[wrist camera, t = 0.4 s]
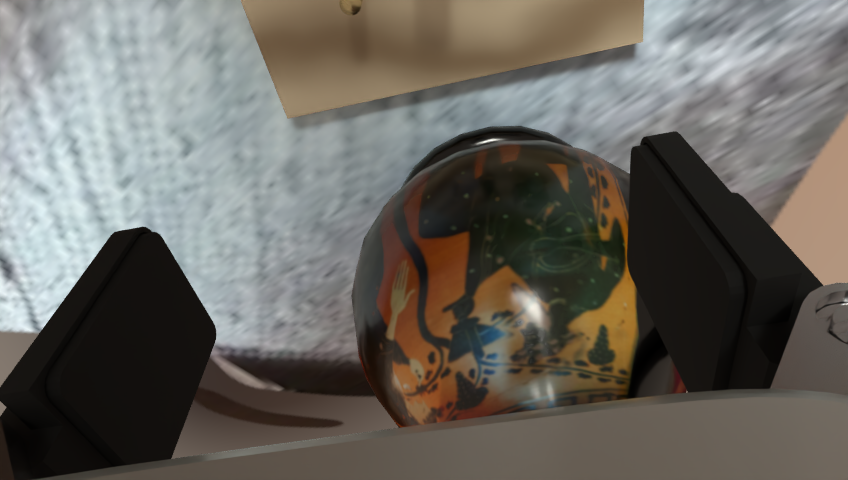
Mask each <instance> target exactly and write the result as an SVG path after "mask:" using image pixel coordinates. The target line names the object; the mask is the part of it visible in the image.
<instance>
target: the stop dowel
mask: <svg viewBox="0 0 848 480" xmlns="http://www.w3.org/2000/svg"><path fill="white" fill-rule="evenodd" d="M362 1H363V0H340V1H339V5H340V8H341V10H342V11H343V12H344V13H345V14H347V15H355V14H357V13H358V12H359V11H360V9H361V6H362Z"/></svg>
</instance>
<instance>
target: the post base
mask: <svg viewBox="0 0 848 480" xmlns="http://www.w3.org/2000/svg"><path fill="white" fill-rule="evenodd" d="M339 1H340V0H241V2H242V5H243V7H244V10H245V12H246V15H247V18H248V20H249V23H250V25H251V28H252V30H253V33H254V35H255V38H256V40H257V43H258V45H259V48H260V50H261V53H262V55H263V58H264V60H265V63H266V65H267V68H268V70H269V73H270V75H271V78H272V80H273V83H274V85H275V88H276V91H277V93H278V96H279V98H280V101H281V103H282V106H283V108H284V111H285V113H286V116H287V118H288V119H289V118H293V117H298V116H303V115H307V114H312V113H316V112H321V111H326V110H330V109H335V108H339V107H344V106H349V105H353V104H358V103H363V102H367V101H372V100H376V99H381V98H386V97H390V96H395V95H399V94H404V93H409V92H413V91H418V90H423V89H427V88H432V87H436V86H441V85H446V84H450V83H455V82H460V81H464V80H469V79H473V78H478V77H483V76H487V75H492V74H496V73H501V72H506V71H510V70H515V69H520V68H524V67H529V66H533V65H538V64H543V63H547V62H552V61H557V60H561V59H566V58H570V57H575V56H580V55H584V54H589V53H593V52H598V51H603V50H607V49H612V48H617V47H621V46H626V45H630V44H635V43H640V42H643V16H644V0H363V1H362V6H361V9H360V11H359V12H358V13H357V14H355V15H347V14H345V13H344V12H343V11H342V10H341V8H340V5H339Z"/></svg>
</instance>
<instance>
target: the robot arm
mask: <svg viewBox="0 0 848 480" xmlns="http://www.w3.org/2000/svg"><path fill="white" fill-rule="evenodd" d="M627 265H628V270H629V273H630V276H631V278H632V280H633V282H634V284H635V286H636V288H637V290H638V292H639V294H640V296H641V298H642V300H643V302H644V304H645V306H646V308H647V310H648V312H649V314H650V316H651V318H652V320H653V323H654V325H655V327H656V329H657V331H658V333H659V335H660V337H661V339H662V341H663V343H664V345H665V347H666V349H667V351H668V353H669V355H670V357H671V359H672V361H673V363H674V365H675V367H676V369H677V371H678V373H679V375H680V377H681V379H682V381H683V383H684V385H685V387H686V389H687V391H688V393H677V394H668V395H659V396H650V397H642V398H633V399H624V400H615V401H606V402H598V403H589V404H580V405H572V406H564V407H556V408H548V409H541V410H533V411H525V412H517V413H510V414H502V415H494V416H486V417H479V418H471V419H463V420H455V421H448V422H440V423H432V424H424V425H417V426H409V427H402V428H394V429H387V430H380V431H372V432H365V433H357V434H350V435H342V436H335V437H327V438H320V439H313V440H306V441H298V442H290V443H284V444H276V445H268V446H261V447H253V448H246V449H239V450H232V451H225V452H218V453H210V454H203V455H197V456H189V457H182V458H175V459H171V458H172V455H173V452H174V450H175V447H176V444H177V442H178V439H179V436H180V434H181V431H182V428H183V426H184V423H185V420H186V418H187V415H188V412H189V410H190V407H191V404H192V402H193V399H194V397H195V394H196V391H197V389H198V386H199V383H200V380H201V378H202V375H203V373H204V370H205V367H206V365H207V362H208V359H209V357H210V354H211V352H212V349H213V346H214V344H215V340H216V328H215V325H214V323H213V321H212V320H211V318H210V316H209V315H208V313H207V311H206V310H205V308H204V306H203V305H202V303H201V301H200V300H199V298H198V296H197V295H196V293H195V291H194V290H193V288H192V286H191V285H190V283H189V281H188V280H187V278H186V276H185V275H184V273H183V271H182V270H181V268H180V266H179V265H178V263H177V261H176V260H175V258H174V256H173V255H172V253H171V251H170V250H169V248H168V247H167V245H166V243H165V242H164V240H163V238H162V237H161V236H160V235H159V234H158V233H156V232H152V231H151V230H150V229H148V228H146V227H139V228H133V229H128V230H122V231H117V232H114V233H113V234H112V235H111V236H110V238H109V239H108V240H107V242H106V243H105V244H104V246H103V247H102V249H101V250H100V251H99V253H98V254H97V255H96V257H95V258H94V260H93V261H92V262H91V264H90V265H89V266H88V268H87V269H86V270H85V272H84V273H83V275H82V276H81V277H80V279H79V280H78V281H77V283H76V284H75V286H74V287H73V288H72V290H71V291H70V292H69V294H68V295H67V296H66V298H65V299H64V301H63V302H62V303H61V305H60V306H59V307H58V309H57V310H56V312H55V313H54V314H53V316H52V317H51V318H50V320H49V321H48V323H47V324H46V325H45V327H44V328H43V329H42V331H41V332H40V333H39V335H38V336H37V338H36V339H35V340H34V342H33V343H32V345H31V346H30V347H29V349H28V350H27V351H26V353H25V354H24V355H23V357H22V358H21V360H20V361H19V362H18V364H17V365H16V366H15V368H14V369H13V371H12V372H11V373H10V375H9V376H8V377H7V379H6V380H5V381H4V383H3V384H2V385H1V387H0V401H1V402H2V403H3V404H4V405H5V406H6V407H7V408H6V409H5V411H4V412H3V413H2V415H1V416H0V480H848V283H835V284H830V285H825V286H823V285H822V283H821V282H820V281H819V280H818V279H817V278H816V277H815V276H814V275H813V273H812V272H811V271H810V270H809V269H808V268H807V267H806V266H805V265H804V264H803V262H802V261H801V260H800V259H799V258H798V257H797V256H796V255H795V254H794V252H793V251H792V250H791V249H790V248H789V247H788V246H787V245H786V244H785V243H784V241H783V240H782V239H781V238H780V237H779V236H778V235H777V234H776V233H775V232H774V230H773V229H772V228H771V227H770V226H769V225H768V224H767V223H766V222H765V220H764V219H763V218H762V217H761V216H760V215H759V214H758V213H757V212H756V210H755V209H754V208H753V207H752V206H751V205H750V204H749V203H748V202H747V201H746V199H745V198H744V197H742V196H741V195H740V194H738V193H731V192H730V190H729V189H728V188H727V187H726V186H725V185H724V184H723V183H722V181H721V180H720V179H719V178H718V177H717V176H716V175H715V173H714V172H713V171H712V170H711V169H710V168H709V167H708V166H707V164H706V163H705V162H704V161H703V160H702V159H701V158H700V156H699V155H698V154H697V153H696V152H695V151H694V150H693V149H692V147H691V146H690V145H689V144H688V143H687V142H686V141H685V140H684V138H683V137H682V136H681V135H680V134H679V133H678V132H669V133H663V134H658V135H652V136H646V137H643V139H642V141H641V144H640V146H635V147H633V148H632V150H631V163H630V189H629V215H628V241H627Z"/></svg>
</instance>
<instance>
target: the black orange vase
mask: <svg viewBox="0 0 848 480" xmlns="http://www.w3.org/2000/svg"><path fill="white" fill-rule="evenodd" d="M629 189H630V174H629V173H627V172H625V171H623V170H622V169H620V168H618V167H616V166H614V165H613V164H611V163H609V162H607V161H605V160H604V159H602V158H600V157H598V156H596V155H594V154H592V153H590V152H587V151H585V150H583V149H578V148H574V147H572V146H571V145H569V144H568V143H566V142H564V141H562V140H560V139H559V138H557V137H555V136H553V135H551V134H550V133H547V132H543V131H539V130H535V129H530V128H526V127H522V126H500V127H487V128H483V129H480V130H476V131H472V132H468V133H464V134H461V135H459V136H457V137H455V138H453V139H451V140H449V141H447V142H445V143H444V144H442V145H440V146H438V147H436V148H434V149H433V150H432V151H431V152H430V153H429V154H428V155H427V156H426V157H425V158H424V159H422V160H421V161H420V162H419V163H418V164H417V165H416V166H415V167H414V168H413V170H412V172H411V173H410V175H409V176H408V178H407V179H406V181H405V183H404V184H403V186H402V187H401V189H400V190H399V191H398V192H397V193H396V194H395V195H393V196H392V197H391V199H390V200H389V201H388V202H387V204H386V205H385V206H384V208H383V209H382V211H381V212H380V214H379V215H378V217H377V219H376V220H375V222H374V223H373V225H372V227H371V228H370V230H369V231H368V233H367V235H366V236H365V238H364V241H363V245H362V249H361V253H360V257H359V261H358V265H357V269H356V273H355V279H354V284H353V290H352V295H351V296H352V304H353V313H354V321H355V329H356V337H357V345H358V353H359V358H360V360H361V363H362V366H363V369H364V372H365V375H366V378H367V380H368V382H369V384H370V386H371V388H372V390H373V391H374V393H375V395H376V397H377V399H378V400H379V402H380V403H381V404H382V406H383V407H384V408H385V410H386V411H387V412H388V414H389V415H390V416H391V418H392V419H393V420H394V422H395V423H396V424H397V426H398V427H399V428H402V427H409V426H417V425H424V424H432V423H440V422H448V421H455V420H463V419H471V418H479V417H486V416H494V415H502V414H510V413H517V412H525V411H533V410H541V409H548V408H556V407H564V406H572V405H580V404H589V403H598V402H606V401H615V400H624V399H633V398H642V397H650V396H659V395H668V394H677V393H686V391H687V389H686V387H685V385H684V383H683V381H682V379H681V377H680V375H679V373H678V371H677V369H676V367H675V365H674V363H673V361H672V359H671V357H670V355H669V353H668V351H667V349H666V347H665V345H664V343H663V341H662V339H661V337H660V335H659V333H658V331H657V329H656V327H655V325H654V323H653V320H652V318H651V316H650V314H649V312H648V310H647V308H646V306H645V304H644V302H643V300H642V298H641V296H640V294H639V292H638V290H637V288H636V286H635V284H634V282H633V280H632V278H631V276H630V273H629V270H628V265H627V241H628V215H629Z"/></svg>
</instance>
